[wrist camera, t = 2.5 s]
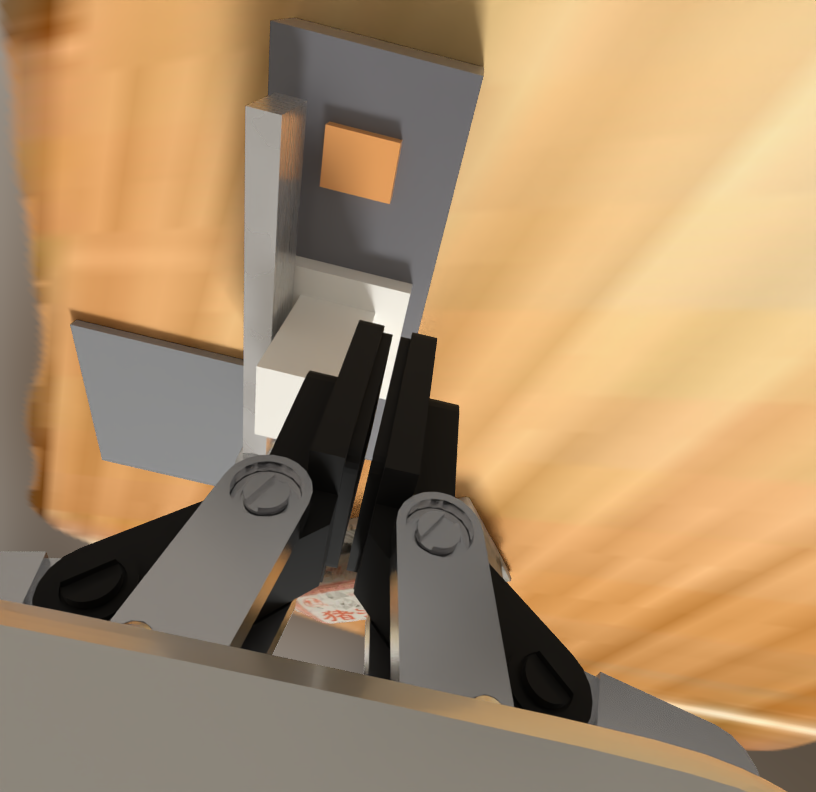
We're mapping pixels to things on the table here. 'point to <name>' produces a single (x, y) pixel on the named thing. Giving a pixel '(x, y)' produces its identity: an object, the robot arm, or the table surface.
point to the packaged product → (336, 589)
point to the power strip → (375, 152)
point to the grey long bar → (269, 237)
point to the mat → (161, 403)
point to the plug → (323, 333)
